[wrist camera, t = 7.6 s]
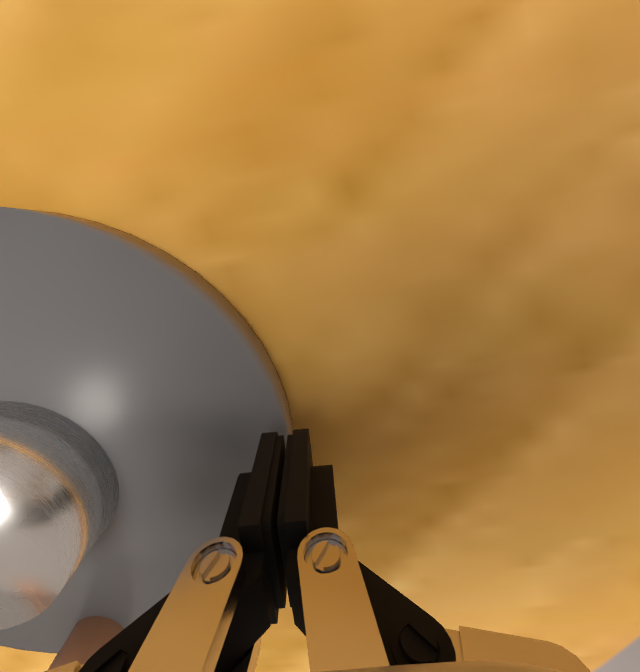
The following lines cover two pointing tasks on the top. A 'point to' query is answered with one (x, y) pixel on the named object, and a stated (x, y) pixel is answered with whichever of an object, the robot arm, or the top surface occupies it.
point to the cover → (47, 505)
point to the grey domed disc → (130, 406)
